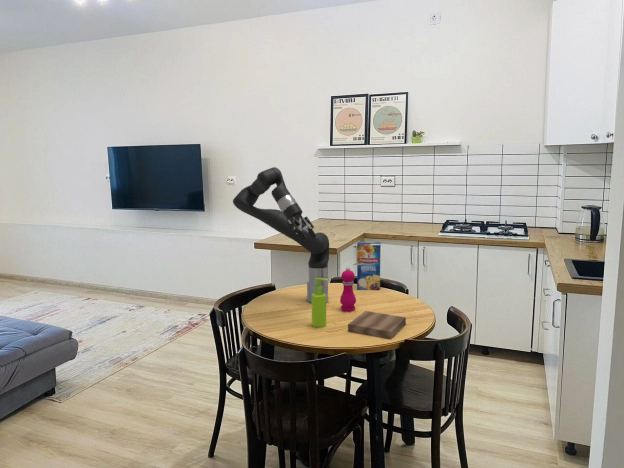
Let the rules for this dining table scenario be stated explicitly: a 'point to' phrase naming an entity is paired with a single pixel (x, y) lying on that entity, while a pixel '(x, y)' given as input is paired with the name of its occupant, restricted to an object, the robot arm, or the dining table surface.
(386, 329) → the walnut board
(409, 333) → the dining table surface
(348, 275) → the pepper mill
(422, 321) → the dining table surface
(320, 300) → the soap dispenser
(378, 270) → the juice carton
